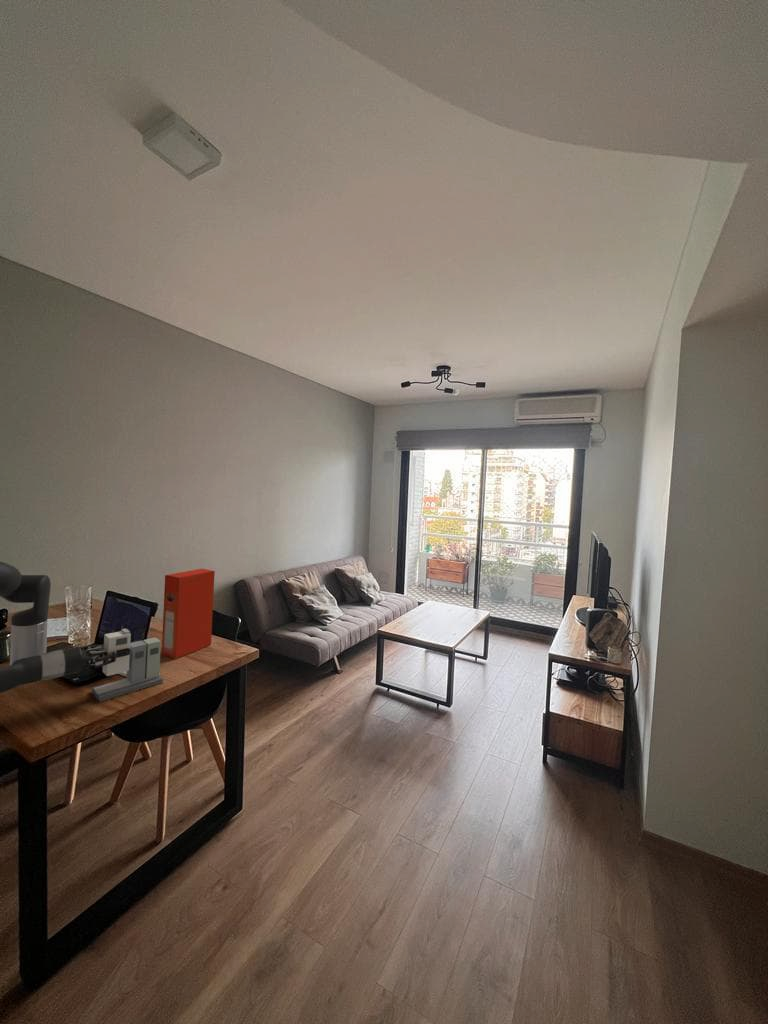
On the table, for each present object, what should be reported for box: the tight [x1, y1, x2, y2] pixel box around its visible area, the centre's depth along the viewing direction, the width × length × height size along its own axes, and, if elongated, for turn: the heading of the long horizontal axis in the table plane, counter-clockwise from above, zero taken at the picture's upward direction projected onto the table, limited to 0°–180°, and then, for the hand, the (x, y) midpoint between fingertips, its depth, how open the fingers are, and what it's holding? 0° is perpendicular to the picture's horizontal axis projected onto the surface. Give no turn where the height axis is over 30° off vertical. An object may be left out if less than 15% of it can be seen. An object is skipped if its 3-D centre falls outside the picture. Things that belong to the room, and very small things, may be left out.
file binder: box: [161, 568, 215, 660], centre depth 162 cm, size 8×17×32 cm, turn 157°
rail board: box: [91, 637, 164, 703], centre depth 130 cm, size 8×18×14 cm, turn 141°
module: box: [102, 628, 132, 677], centre depth 126 cm, size 5×6×13 cm
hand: (126, 648), depth 129 cm, fingers closed on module, 4 cm apart
